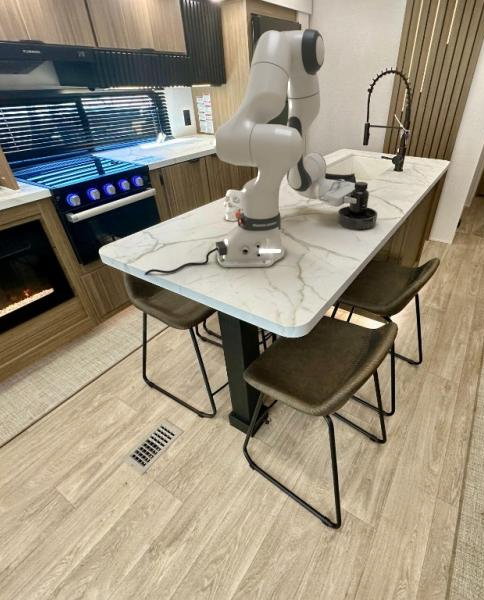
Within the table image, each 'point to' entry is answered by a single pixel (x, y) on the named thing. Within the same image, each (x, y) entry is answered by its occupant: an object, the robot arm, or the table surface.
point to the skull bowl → (233, 204)
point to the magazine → (341, 177)
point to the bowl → (357, 219)
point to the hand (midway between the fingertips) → (361, 198)
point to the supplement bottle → (359, 199)
